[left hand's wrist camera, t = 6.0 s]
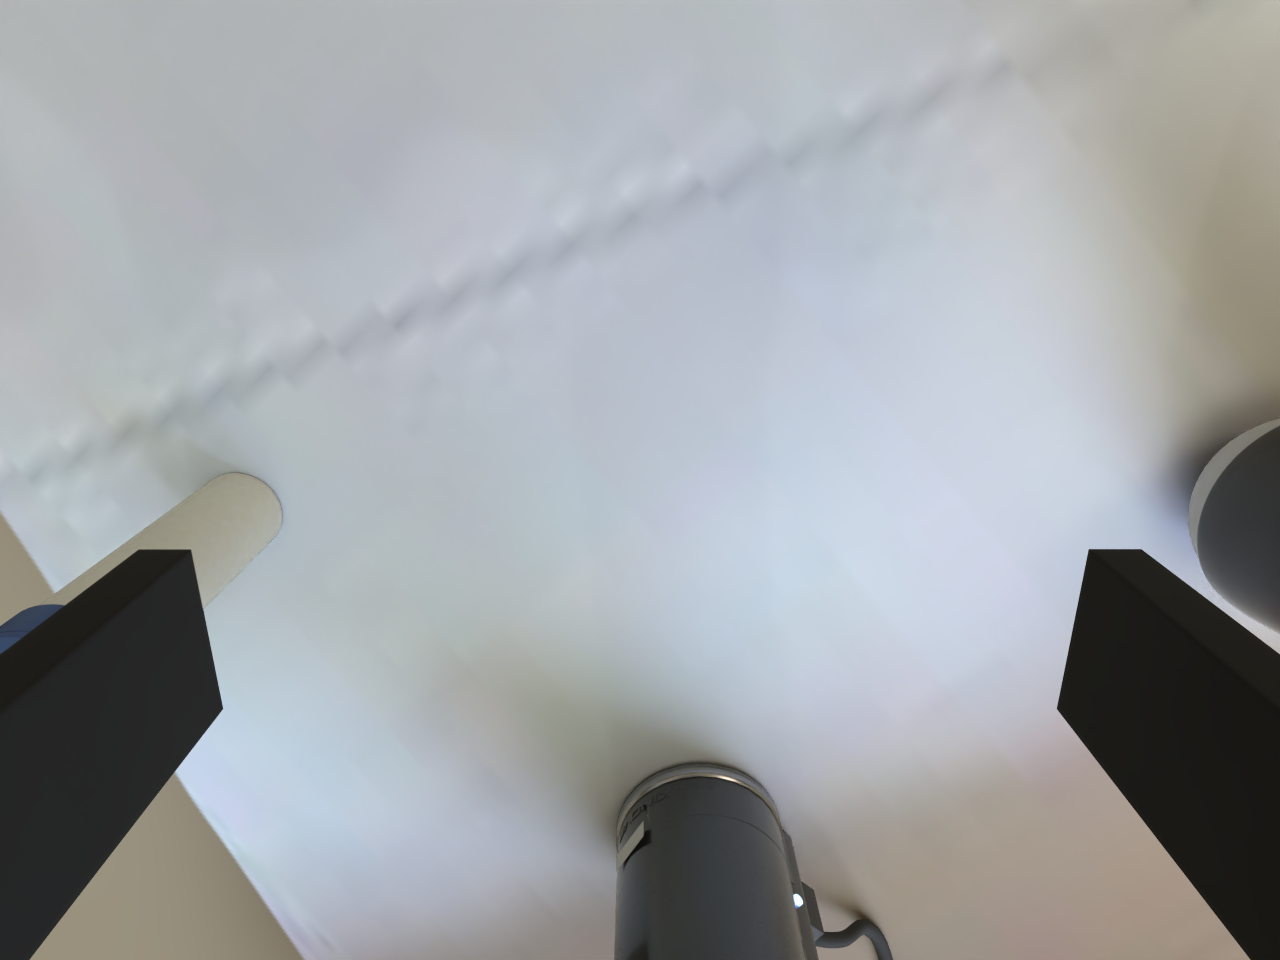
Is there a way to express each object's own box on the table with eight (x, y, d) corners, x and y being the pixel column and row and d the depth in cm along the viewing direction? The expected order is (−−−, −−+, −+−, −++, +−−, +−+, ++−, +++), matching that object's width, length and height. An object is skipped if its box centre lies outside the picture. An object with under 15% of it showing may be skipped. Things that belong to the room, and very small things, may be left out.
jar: (194, 471, 41) (-45, 633, 27) (277, 473, 42) (83, 635, 27) (207, 546, 43) (-14, 739, 28) (287, 548, 43) (108, 741, 28)
